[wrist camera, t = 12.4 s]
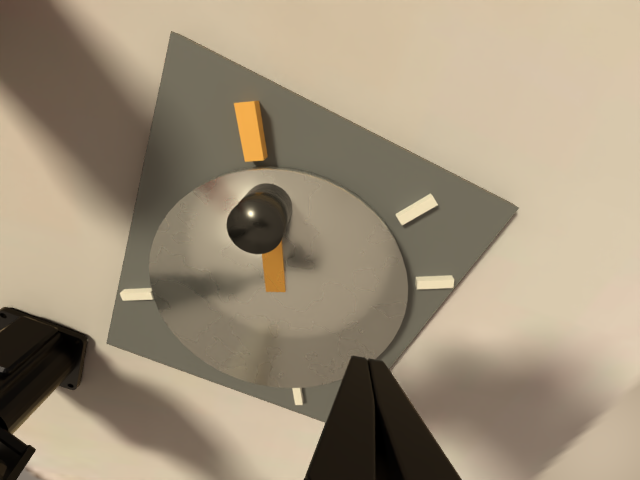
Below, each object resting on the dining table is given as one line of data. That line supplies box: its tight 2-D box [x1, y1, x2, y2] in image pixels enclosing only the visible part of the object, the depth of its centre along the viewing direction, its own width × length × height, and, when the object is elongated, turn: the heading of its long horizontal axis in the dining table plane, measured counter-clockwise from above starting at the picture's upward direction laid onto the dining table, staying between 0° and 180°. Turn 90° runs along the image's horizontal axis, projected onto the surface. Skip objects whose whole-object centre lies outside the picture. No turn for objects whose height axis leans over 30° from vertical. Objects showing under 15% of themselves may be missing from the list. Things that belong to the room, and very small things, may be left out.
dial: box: [149, 166, 408, 388], centre depth 19 cm, size 16×16×4 cm
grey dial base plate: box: [107, 31, 519, 423], centre depth 21 cm, size 22×20×2 cm
